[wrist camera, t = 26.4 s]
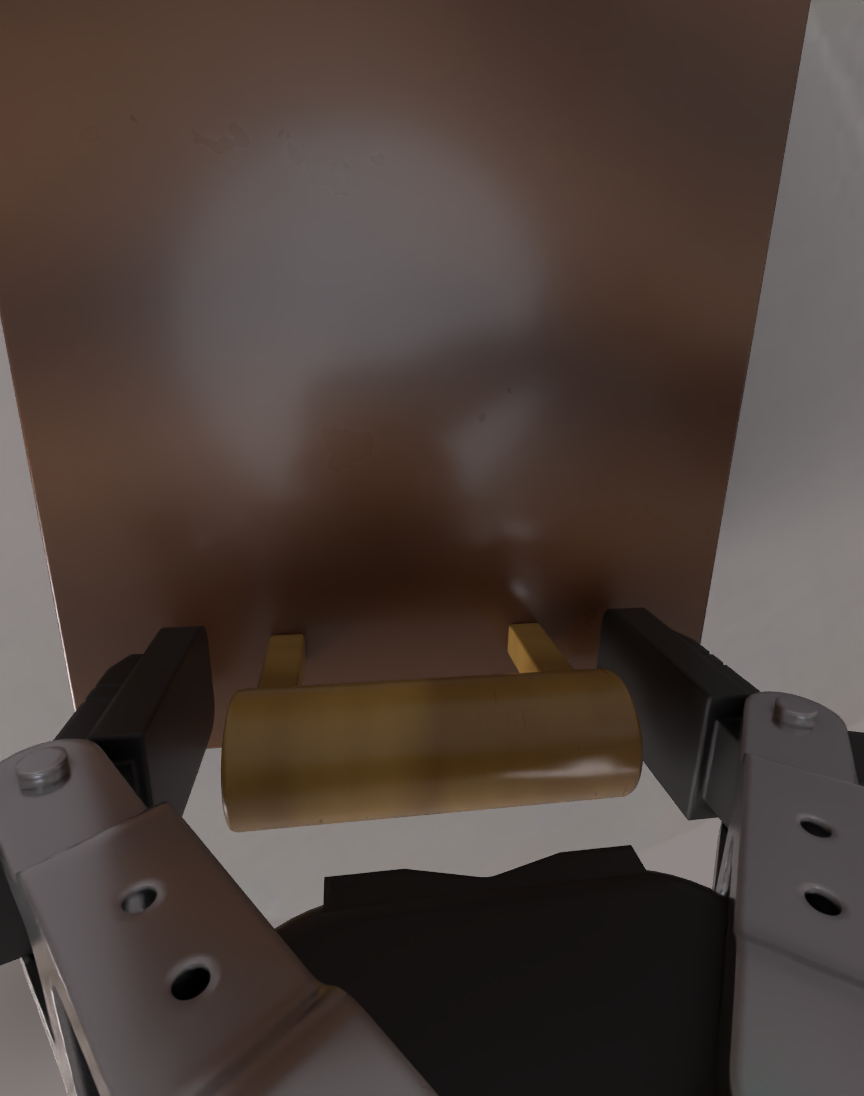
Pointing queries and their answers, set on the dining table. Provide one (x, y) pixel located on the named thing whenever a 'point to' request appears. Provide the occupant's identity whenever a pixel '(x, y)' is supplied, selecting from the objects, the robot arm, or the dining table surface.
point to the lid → (387, 363)
